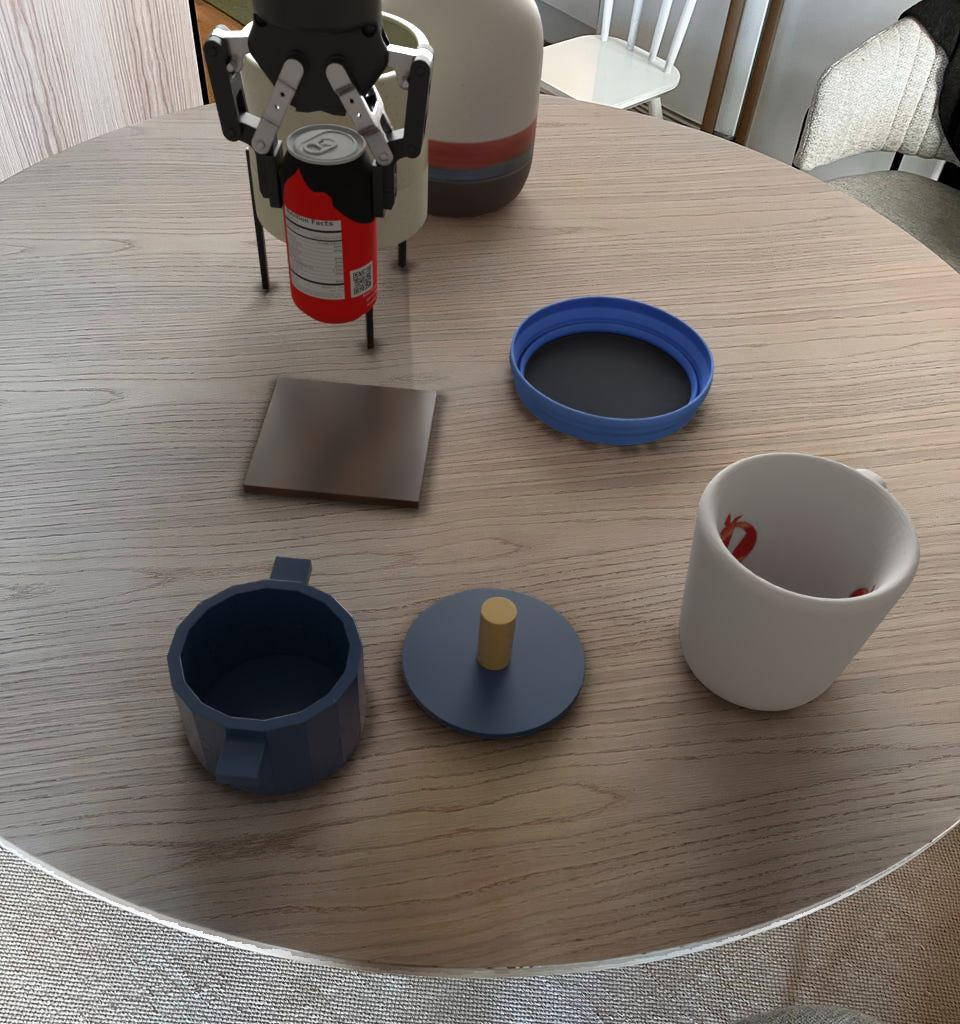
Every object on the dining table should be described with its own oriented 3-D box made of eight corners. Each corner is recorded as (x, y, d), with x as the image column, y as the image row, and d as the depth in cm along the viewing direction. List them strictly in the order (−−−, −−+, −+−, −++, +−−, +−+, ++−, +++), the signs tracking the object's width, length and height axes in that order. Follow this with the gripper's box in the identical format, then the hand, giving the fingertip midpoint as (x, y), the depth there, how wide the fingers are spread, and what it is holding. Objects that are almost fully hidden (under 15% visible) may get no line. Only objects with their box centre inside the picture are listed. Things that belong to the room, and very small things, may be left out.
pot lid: (390, 734, 68) (388, 679, 63) (413, 590, 76) (413, 531, 71) (581, 753, 67) (595, 699, 63) (584, 607, 75) (596, 549, 71)
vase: (503, 245, 106) (524, -10, 87) (352, 211, 108) (340, -43, 90) (547, 172, 116) (573, -71, 97) (408, 142, 118) (407, -99, 100)
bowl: (725, 358, 96) (735, 326, 93) (676, 477, 85) (685, 444, 82) (546, 308, 99) (550, 275, 96) (476, 416, 88) (479, 382, 86)
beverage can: (396, 308, 75) (395, 145, 66) (331, 342, 72) (321, 176, 63) (339, 272, 78) (330, 110, 68) (274, 303, 75) (256, 139, 65)
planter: (462, 295, 100) (474, 41, 82) (349, 367, 92) (335, 103, 74) (349, 236, 105) (338, -14, 87) (233, 299, 97) (194, 38, 79)
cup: (755, 528, 82) (808, 389, 71) (910, 619, 77) (992, 484, 66) (619, 660, 72) (656, 523, 62) (785, 773, 67) (857, 646, 57)
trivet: (244, 492, 81) (242, 484, 80) (279, 383, 90) (278, 375, 89) (418, 509, 81) (418, 501, 80) (437, 398, 90) (437, 391, 89)
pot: (156, 823, 63) (130, 759, 57) (221, 613, 73) (205, 541, 67) (343, 841, 62) (337, 779, 57) (381, 628, 73) (379, 558, 67)
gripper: (448, -93, 58) (440, 190, 71) (199, -116, 58) (236, 170, 71) (434, -46, 54) (428, 247, 67) (163, -72, 54) (210, 225, 67)
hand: (329, 206), depth 69 cm, fingers closed on beverage can, 6 cm apart
